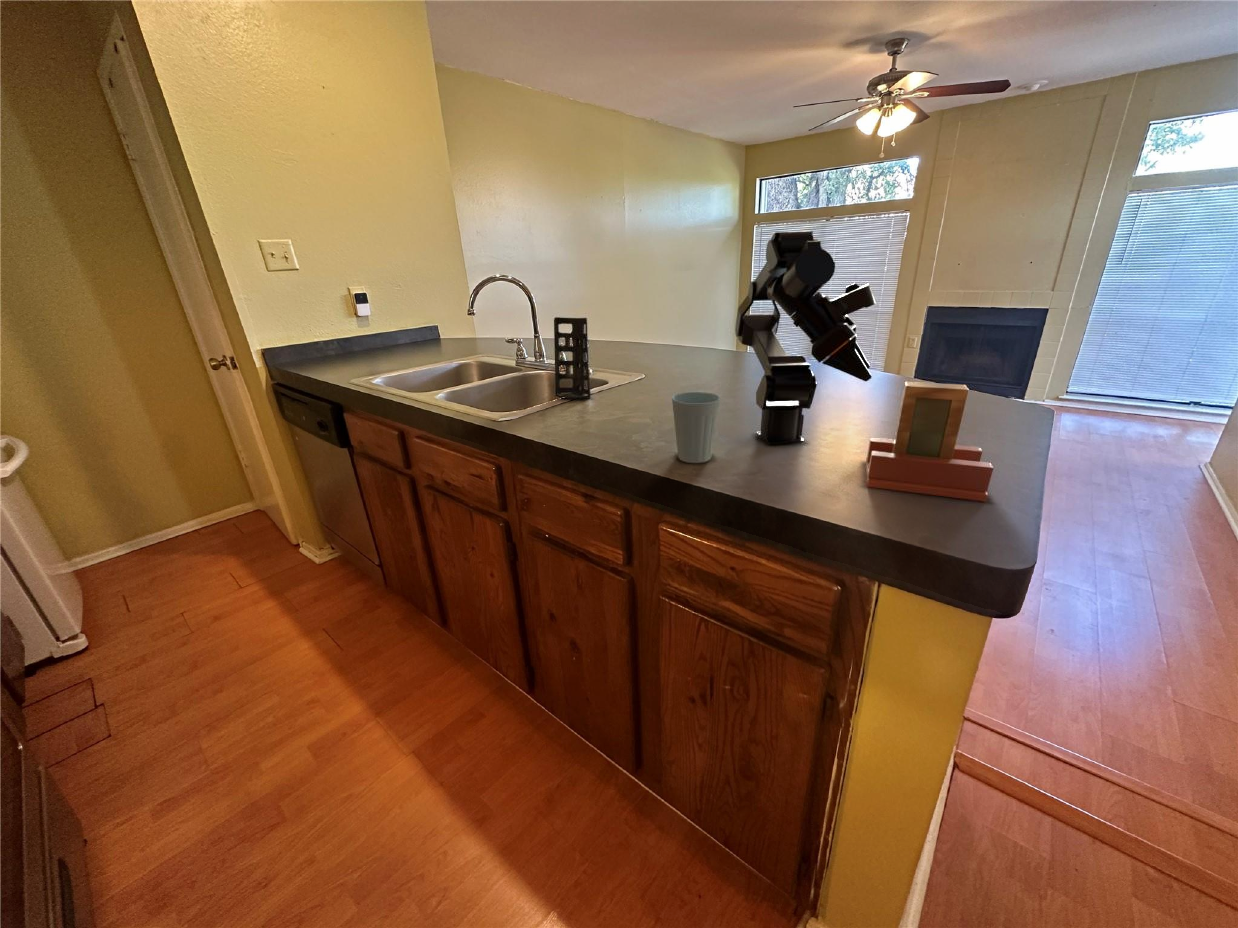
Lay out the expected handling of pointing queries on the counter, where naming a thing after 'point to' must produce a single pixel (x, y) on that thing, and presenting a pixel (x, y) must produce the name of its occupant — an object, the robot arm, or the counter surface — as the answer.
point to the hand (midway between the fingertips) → (868, 374)
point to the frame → (929, 419)
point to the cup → (695, 425)
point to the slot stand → (928, 471)
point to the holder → (577, 362)
